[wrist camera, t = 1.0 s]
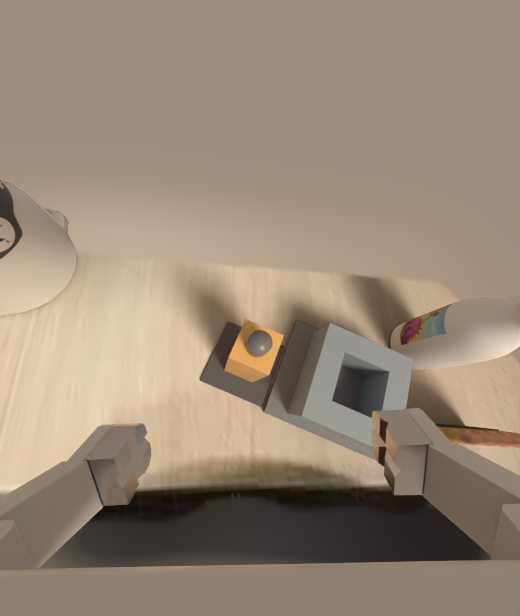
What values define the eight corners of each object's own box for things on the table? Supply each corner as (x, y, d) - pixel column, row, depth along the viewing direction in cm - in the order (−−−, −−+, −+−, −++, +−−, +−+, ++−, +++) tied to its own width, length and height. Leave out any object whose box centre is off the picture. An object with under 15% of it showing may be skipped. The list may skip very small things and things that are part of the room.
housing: (263, 411, 35) (274, 414, 28) (295, 321, 40) (311, 306, 33) (383, 463, 35) (420, 477, 29) (400, 367, 40) (435, 361, 34)
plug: (224, 370, 35) (229, 354, 22) (236, 342, 37) (248, 312, 24) (251, 382, 35) (273, 373, 22) (262, 354, 37) (289, 330, 24)
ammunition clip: (403, 435, 37) (485, 451, 26) (401, 421, 37) (481, 431, 26) (468, 439, 38) (573, 456, 27) (465, 426, 39) (567, 437, 28)
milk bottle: (440, 359, 42) (620, 327, 23) (405, 379, 40) (573, 361, 21) (414, 317, 44) (561, 256, 25) (379, 334, 42) (513, 281, 23)
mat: (200, 380, 35) (200, 380, 34) (227, 322, 38) (227, 321, 38) (261, 406, 35) (261, 406, 35) (283, 346, 38) (283, 346, 38)
